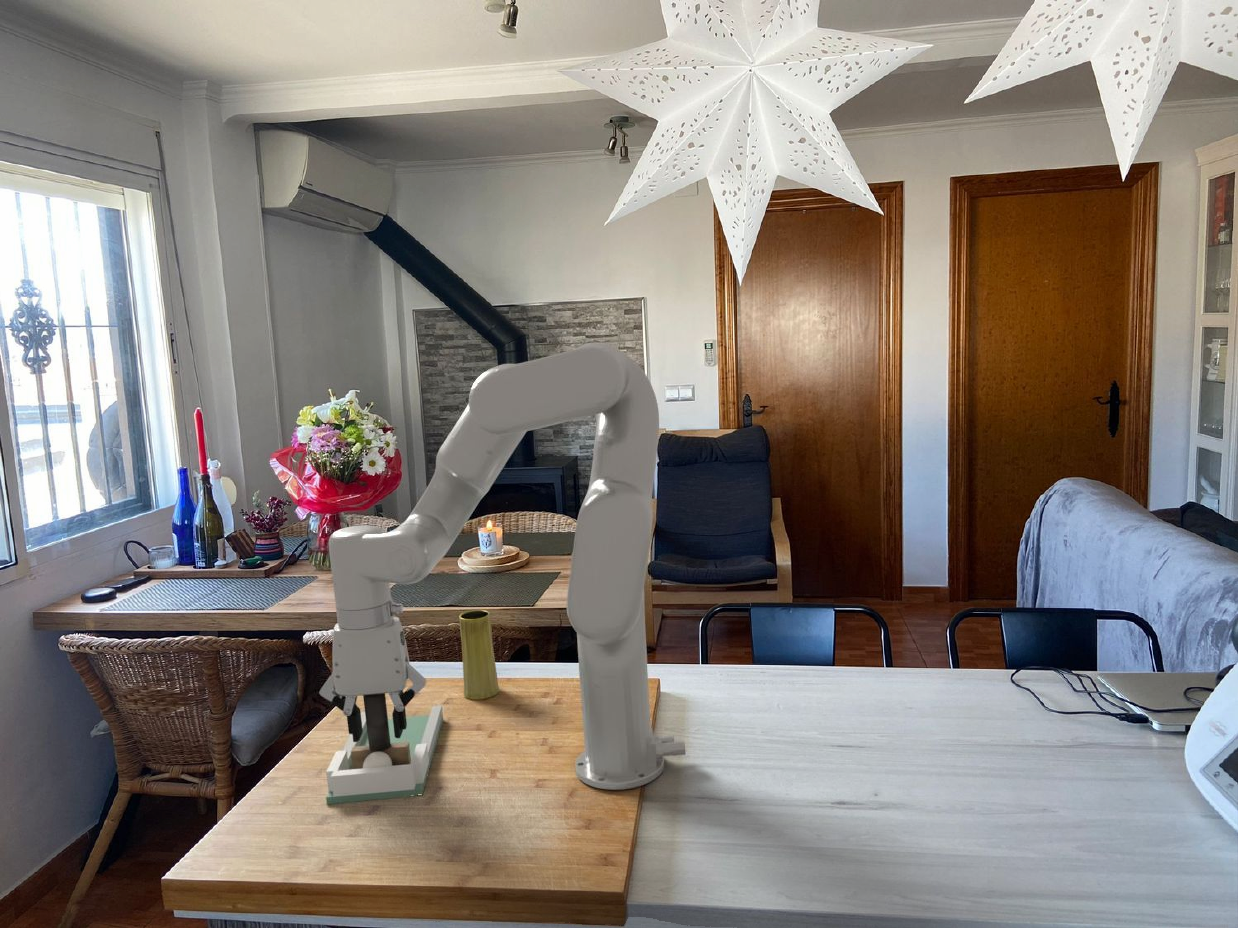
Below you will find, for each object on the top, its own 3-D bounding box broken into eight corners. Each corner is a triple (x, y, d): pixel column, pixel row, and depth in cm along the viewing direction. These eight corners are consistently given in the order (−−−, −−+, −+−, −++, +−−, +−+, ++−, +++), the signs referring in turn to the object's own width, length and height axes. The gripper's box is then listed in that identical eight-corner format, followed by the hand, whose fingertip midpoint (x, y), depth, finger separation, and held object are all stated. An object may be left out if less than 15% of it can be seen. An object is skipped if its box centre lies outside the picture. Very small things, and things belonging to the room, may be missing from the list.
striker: (411, 759, 136) (404, 687, 134) (408, 769, 133) (400, 695, 131) (356, 764, 135) (347, 692, 133) (352, 774, 132) (343, 700, 130)
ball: (392, 785, 131) (395, 762, 134) (387, 767, 128) (391, 744, 132) (363, 788, 130) (367, 765, 134) (358, 769, 128) (362, 746, 132)
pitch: (443, 719, 152) (440, 696, 151) (422, 795, 128) (419, 768, 128) (362, 726, 151) (359, 703, 151) (326, 803, 128) (323, 776, 127)
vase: (506, 691, 162) (499, 612, 159) (478, 703, 157) (471, 622, 155) (484, 683, 166) (477, 606, 163) (456, 694, 161) (449, 616, 159)
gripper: (430, 601, 134) (442, 719, 137) (310, 610, 133) (324, 729, 136) (422, 618, 127) (435, 742, 130) (295, 628, 126) (311, 753, 129)
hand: (378, 734), depth 133 cm, fingers open, 5 cm apart
